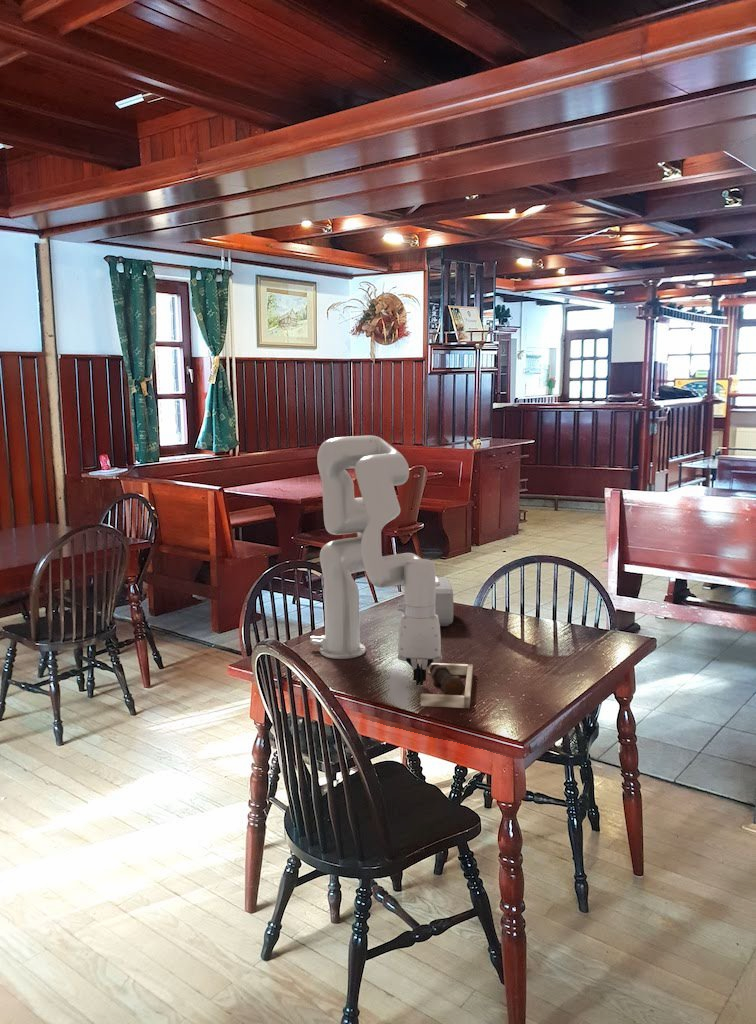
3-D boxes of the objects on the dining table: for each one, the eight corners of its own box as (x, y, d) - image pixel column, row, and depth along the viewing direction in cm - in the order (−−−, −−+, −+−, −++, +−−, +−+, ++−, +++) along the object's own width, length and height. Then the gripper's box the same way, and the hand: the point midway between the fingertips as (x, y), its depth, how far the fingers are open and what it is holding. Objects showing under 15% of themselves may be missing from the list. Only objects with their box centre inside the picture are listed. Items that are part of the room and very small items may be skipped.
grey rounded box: (453, 630, 245) (453, 586, 243) (421, 630, 245) (421, 587, 243) (446, 611, 266) (446, 571, 264) (417, 611, 266) (417, 571, 263)
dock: (420, 705, 189) (420, 695, 188) (428, 671, 210) (428, 662, 210) (469, 708, 187) (469, 697, 187) (472, 673, 209) (472, 664, 208)
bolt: (438, 683, 208) (457, 703, 193) (421, 675, 207) (439, 695, 192) (449, 663, 208) (468, 681, 193) (432, 655, 207) (450, 673, 192)
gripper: (387, 614, 194) (387, 687, 197) (450, 615, 192) (449, 690, 195) (390, 605, 201) (391, 676, 204) (451, 607, 199) (451, 678, 202)
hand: (419, 683), depth 200 cm, fingers closed
